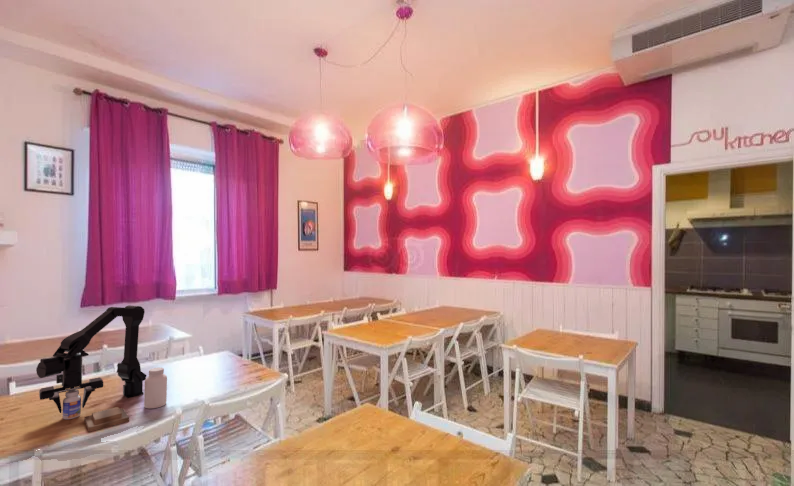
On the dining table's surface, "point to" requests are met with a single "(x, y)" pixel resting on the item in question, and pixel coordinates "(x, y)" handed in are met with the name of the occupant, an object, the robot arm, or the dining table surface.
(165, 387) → the pill bottle
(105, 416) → the walnut stand
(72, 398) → the pill bottle
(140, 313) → the robot arm
